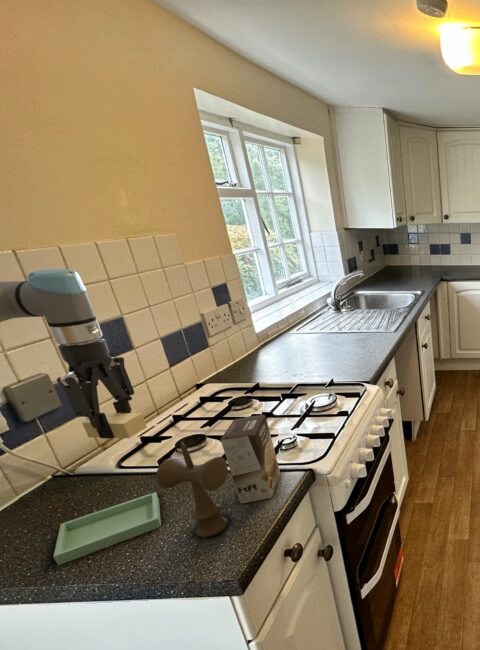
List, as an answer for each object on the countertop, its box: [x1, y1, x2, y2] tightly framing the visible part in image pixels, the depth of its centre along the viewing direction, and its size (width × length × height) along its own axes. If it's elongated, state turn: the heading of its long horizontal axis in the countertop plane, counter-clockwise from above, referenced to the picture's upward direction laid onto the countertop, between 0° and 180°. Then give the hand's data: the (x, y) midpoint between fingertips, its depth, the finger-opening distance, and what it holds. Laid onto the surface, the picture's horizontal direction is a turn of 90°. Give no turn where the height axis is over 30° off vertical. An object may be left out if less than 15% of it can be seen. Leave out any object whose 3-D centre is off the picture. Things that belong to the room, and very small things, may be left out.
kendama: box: [156, 442, 229, 538], centre depth 77 cm, size 6×10×20 cm, turn 88°
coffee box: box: [219, 414, 281, 504], centre depth 89 cm, size 9×6×16 cm
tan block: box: [82, 412, 148, 439], centre depth 99 cm, size 10×5×4 cm, turn 88°
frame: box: [53, 491, 162, 566], centre depth 80 cm, size 14×10×2 cm
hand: (118, 431), depth 100 cm, fingers closed on tan block, 5 cm apart
